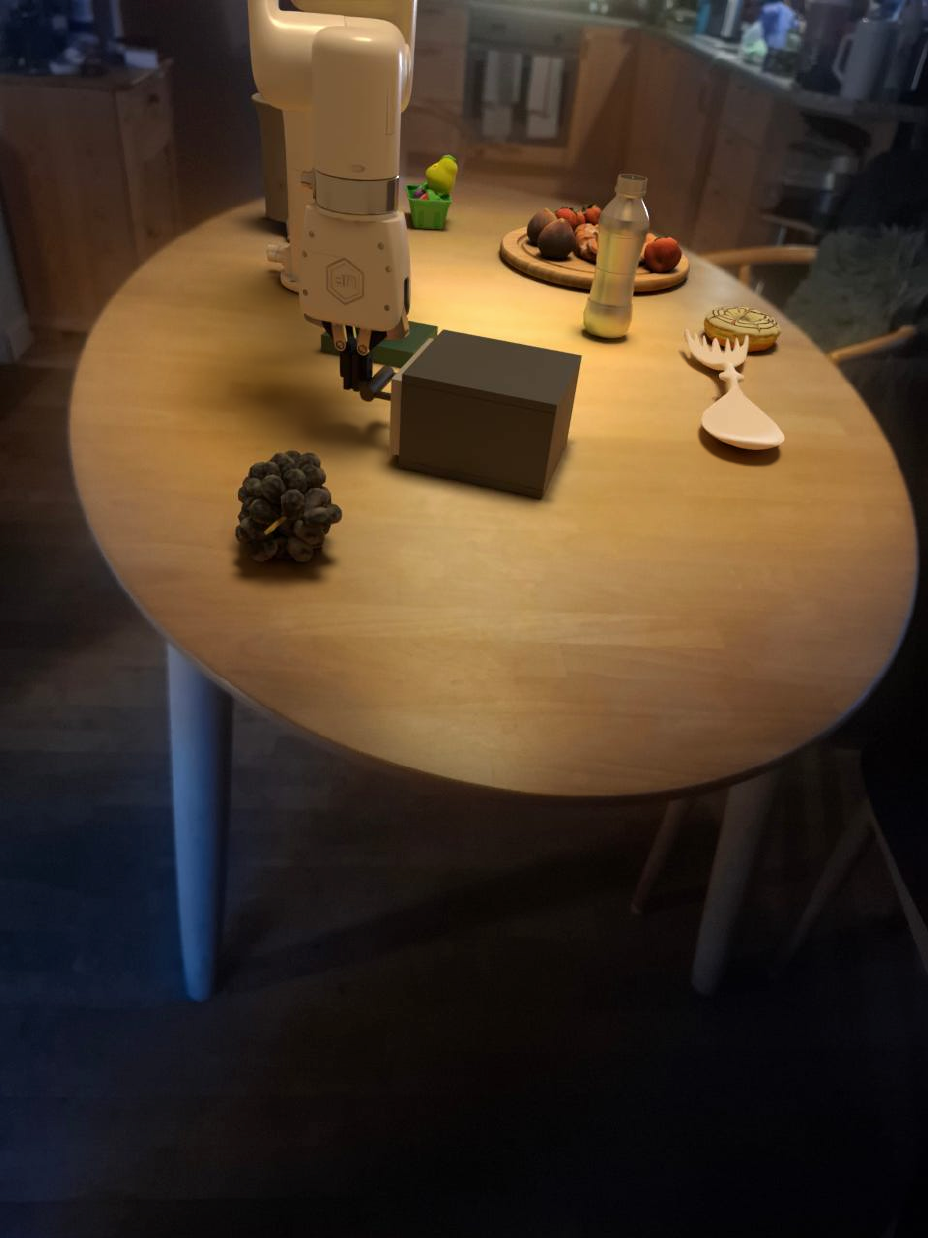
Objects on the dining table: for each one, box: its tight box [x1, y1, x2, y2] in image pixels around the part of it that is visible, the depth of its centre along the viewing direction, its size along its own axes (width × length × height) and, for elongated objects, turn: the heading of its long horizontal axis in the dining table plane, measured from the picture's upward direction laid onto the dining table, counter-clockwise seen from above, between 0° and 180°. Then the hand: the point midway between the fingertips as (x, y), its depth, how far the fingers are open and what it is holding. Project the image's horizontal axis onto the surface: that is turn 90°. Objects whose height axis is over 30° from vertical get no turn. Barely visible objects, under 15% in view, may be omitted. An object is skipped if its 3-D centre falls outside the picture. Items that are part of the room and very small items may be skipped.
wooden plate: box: [499, 203, 691, 293], centre depth 143 cm, size 32×32×8 cm
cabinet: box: [397, 329, 583, 500], centre depth 86 cm, size 15×13×10 cm
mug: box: [250, 92, 290, 243], centre depth 141 cm, size 19×15×25 cm
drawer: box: [359, 338, 434, 457], centre depth 87 cm, size 18×12×8 cm, turn 74°
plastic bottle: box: [582, 173, 651, 339], centre depth 113 cm, size 6×7×20 cm
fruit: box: [234, 449, 343, 563], centre depth 73 cm, size 9×8×15 cm
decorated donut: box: [703, 306, 782, 353], centre depth 121 cm, size 10×11×4 cm
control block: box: [320, 317, 439, 369], centre depth 108 cm, size 12×10×4 cm
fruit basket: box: [405, 154, 459, 230], centre depth 154 cm, size 11×9×11 cm
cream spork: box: [683, 327, 785, 451], centre depth 104 cm, size 9×32×4 cm, turn 174°
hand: (356, 385), depth 89 cm, fingers closed
